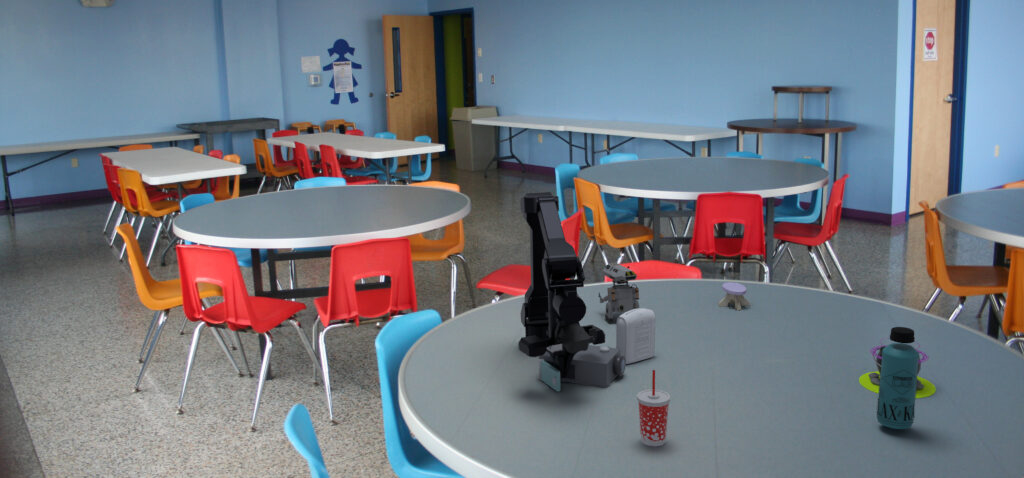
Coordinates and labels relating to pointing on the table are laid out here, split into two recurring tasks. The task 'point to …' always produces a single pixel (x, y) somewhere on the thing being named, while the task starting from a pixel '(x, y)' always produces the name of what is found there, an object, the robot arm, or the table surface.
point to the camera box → (593, 366)
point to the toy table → (734, 295)
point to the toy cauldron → (872, 378)
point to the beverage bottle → (898, 380)
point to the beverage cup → (653, 415)
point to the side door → (549, 375)
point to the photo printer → (636, 335)
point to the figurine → (620, 291)
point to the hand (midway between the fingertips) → (563, 377)
